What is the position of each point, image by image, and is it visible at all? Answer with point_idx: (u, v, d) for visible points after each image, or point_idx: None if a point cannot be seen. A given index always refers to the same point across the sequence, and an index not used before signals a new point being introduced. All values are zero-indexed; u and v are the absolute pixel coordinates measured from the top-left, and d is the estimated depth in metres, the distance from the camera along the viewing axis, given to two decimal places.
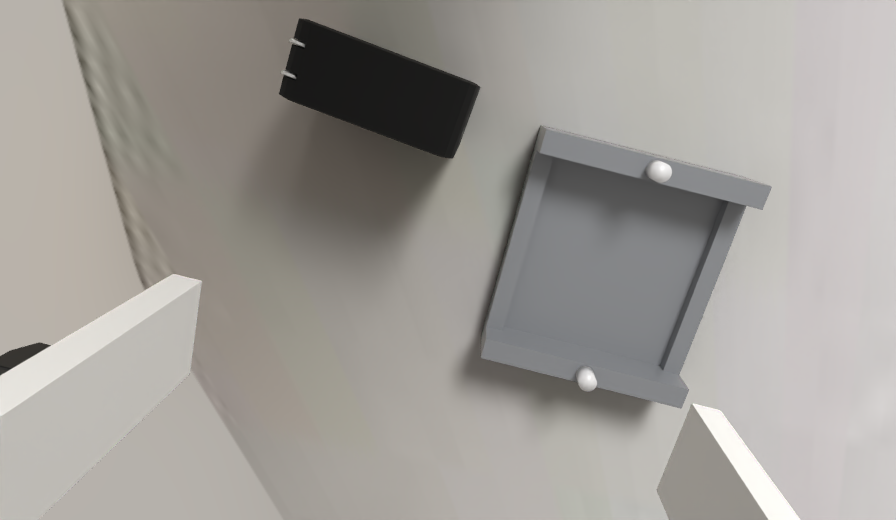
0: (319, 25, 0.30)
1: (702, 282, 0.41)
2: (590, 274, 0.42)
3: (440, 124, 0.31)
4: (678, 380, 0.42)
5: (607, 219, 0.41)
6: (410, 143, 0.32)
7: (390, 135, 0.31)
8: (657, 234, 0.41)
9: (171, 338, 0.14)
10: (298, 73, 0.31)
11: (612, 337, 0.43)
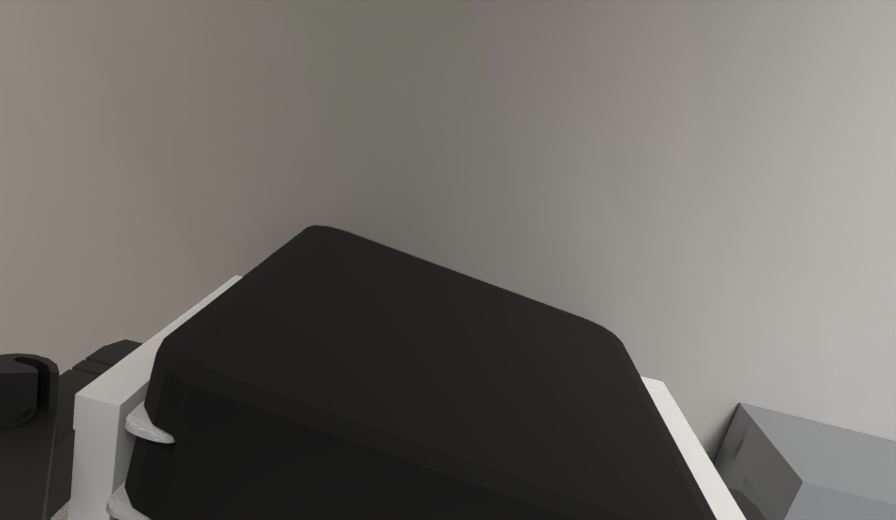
0: (220, 386, 0.09)
1: None
2: None
3: None
4: None
5: None
6: None
7: None
8: None
9: None
10: (158, 517, 0.10)
11: None
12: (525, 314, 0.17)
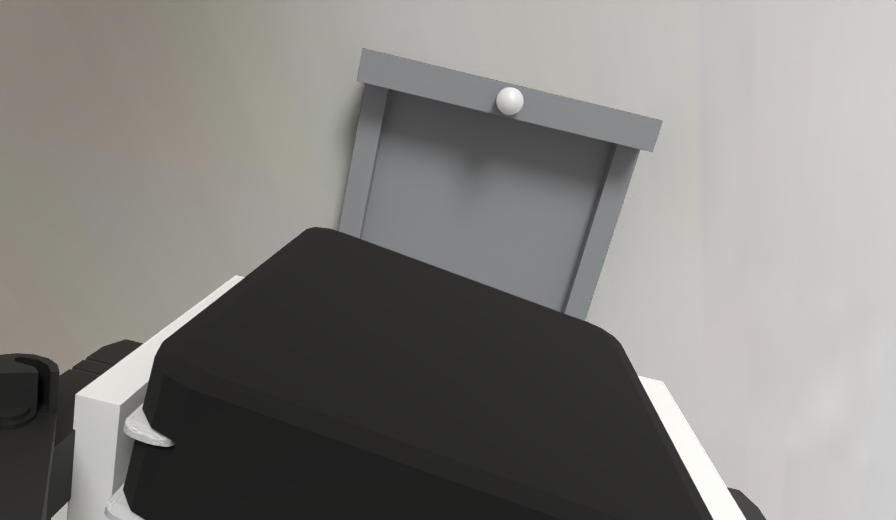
0: (218, 390, 0.09)
1: (589, 252, 0.32)
2: (451, 245, 0.33)
3: None
4: None
5: (467, 173, 0.32)
6: None
7: None
8: (531, 191, 0.32)
9: None
10: None
11: None
12: (524, 316, 0.17)
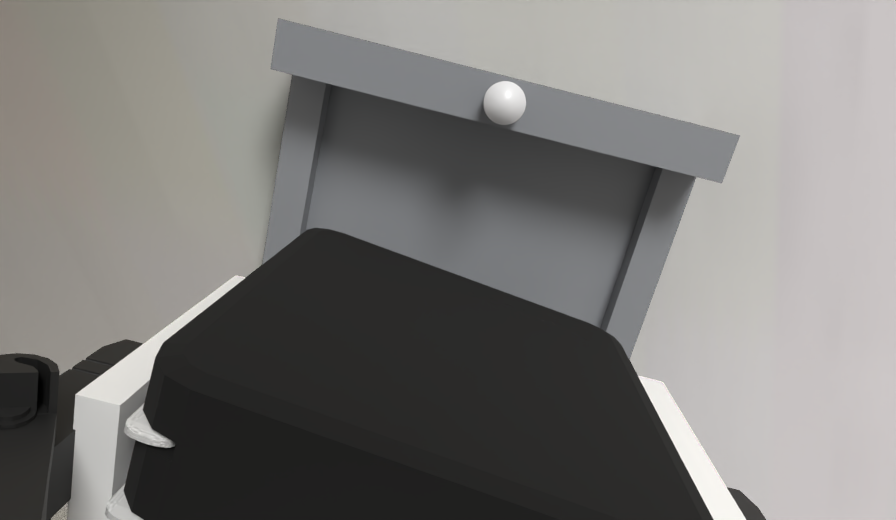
0: (218, 391, 0.09)
1: (618, 321, 0.22)
2: None
3: None
4: None
5: (443, 206, 0.22)
6: None
7: None
8: (535, 233, 0.22)
9: None
10: None
11: None
12: (525, 317, 0.17)
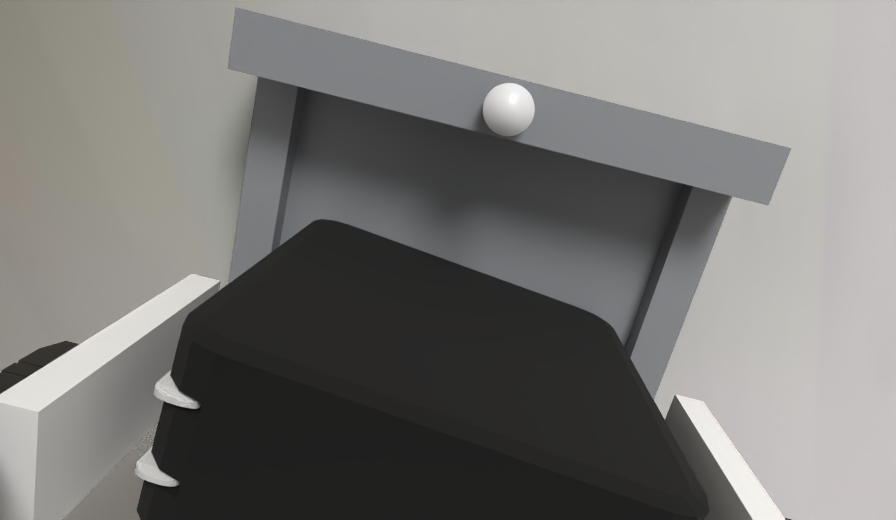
0: (241, 355, 0.10)
1: (639, 361, 0.19)
2: None
3: None
4: None
5: (436, 227, 0.19)
6: None
7: None
8: (543, 259, 0.19)
9: None
10: (184, 478, 0.10)
11: None
12: (522, 302, 0.18)
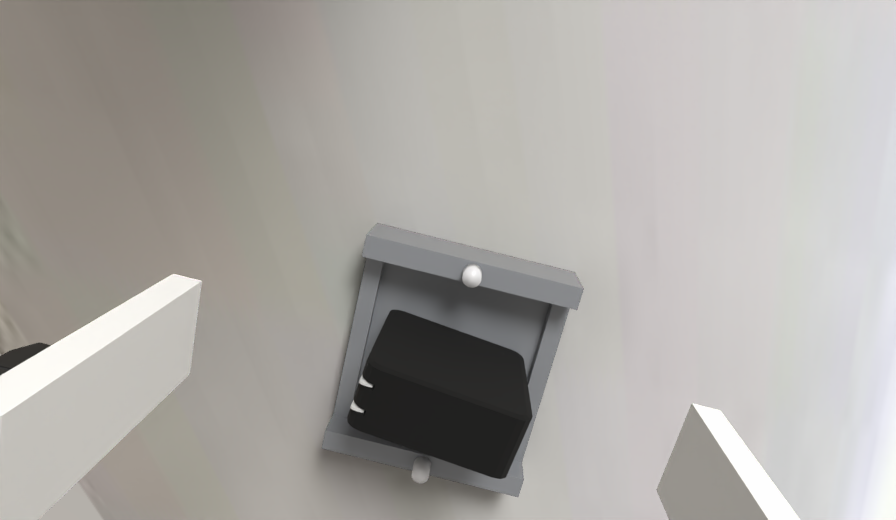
0: (387, 371, 0.33)
1: (536, 373, 0.42)
2: None
3: (497, 454, 0.34)
4: (517, 468, 0.43)
5: (443, 312, 0.42)
6: (469, 468, 0.34)
7: (451, 462, 0.34)
8: (492, 327, 0.42)
9: (171, 338, 0.14)
10: (366, 409, 0.33)
11: None
12: (481, 347, 0.41)
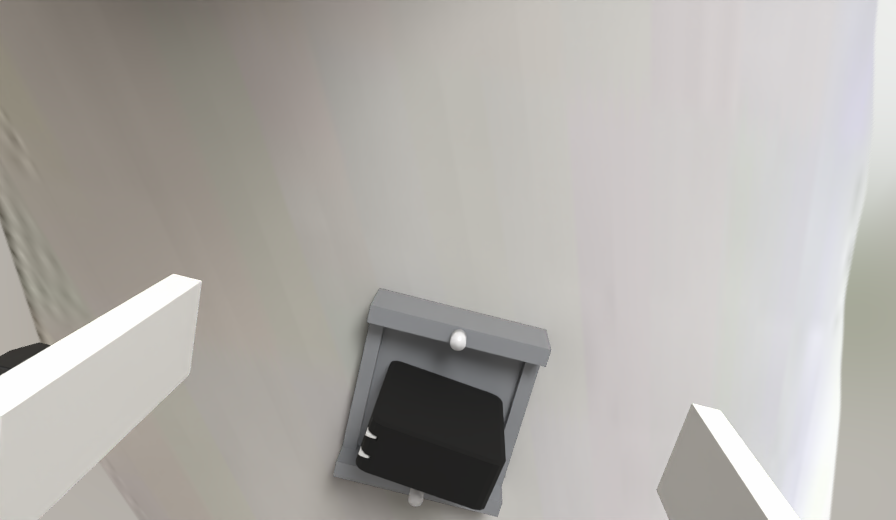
0: (388, 426, 0.41)
1: (513, 414, 0.50)
2: None
3: (477, 491, 0.42)
4: (497, 492, 0.51)
5: (435, 363, 0.50)
6: (454, 502, 0.42)
7: (439, 497, 0.42)
8: (476, 375, 0.50)
9: (171, 338, 0.14)
10: (371, 456, 0.41)
11: None
12: (466, 394, 0.49)
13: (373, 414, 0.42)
